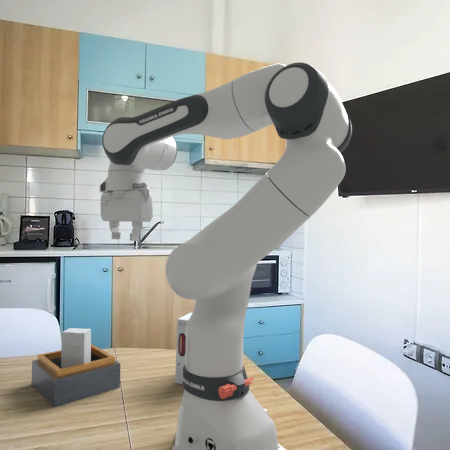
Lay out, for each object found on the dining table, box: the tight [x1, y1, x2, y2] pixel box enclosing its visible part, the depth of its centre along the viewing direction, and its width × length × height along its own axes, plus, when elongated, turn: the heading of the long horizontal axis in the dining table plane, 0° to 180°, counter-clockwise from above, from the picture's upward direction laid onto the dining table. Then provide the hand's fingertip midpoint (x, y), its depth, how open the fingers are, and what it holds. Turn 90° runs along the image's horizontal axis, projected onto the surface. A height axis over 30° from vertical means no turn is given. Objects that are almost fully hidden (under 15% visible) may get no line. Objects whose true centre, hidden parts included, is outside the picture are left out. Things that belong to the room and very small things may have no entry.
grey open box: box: [31, 343, 121, 408], centre depth 97 cm, size 19×16×8 cm
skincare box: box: [60, 327, 92, 369], centre depth 96 cm, size 6×4×12 cm
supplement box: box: [174, 311, 193, 385], centre depth 101 cm, size 10×9×17 cm
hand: (124, 240), depth 95 cm, fingers open, 8 cm apart
